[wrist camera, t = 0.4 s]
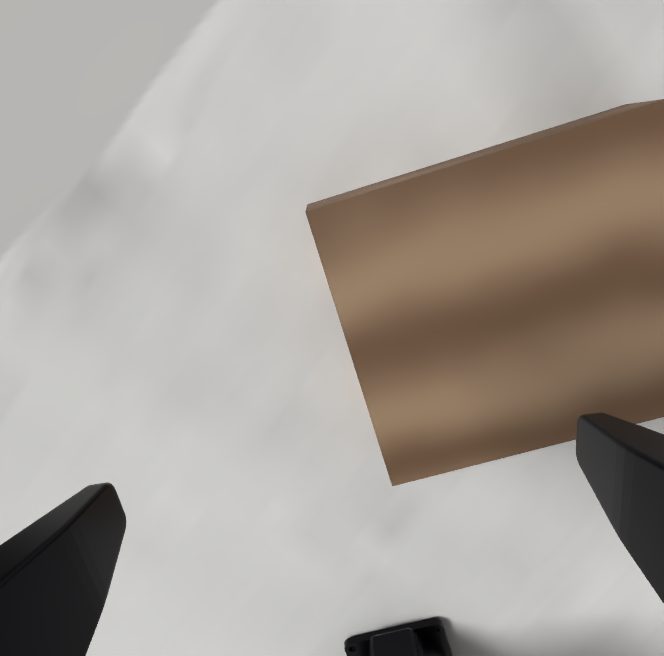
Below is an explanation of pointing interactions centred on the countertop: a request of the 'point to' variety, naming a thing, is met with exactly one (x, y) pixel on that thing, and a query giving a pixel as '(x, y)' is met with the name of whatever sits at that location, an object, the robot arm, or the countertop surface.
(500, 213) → the walnut block
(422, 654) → the robot arm
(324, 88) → the countertop surface
